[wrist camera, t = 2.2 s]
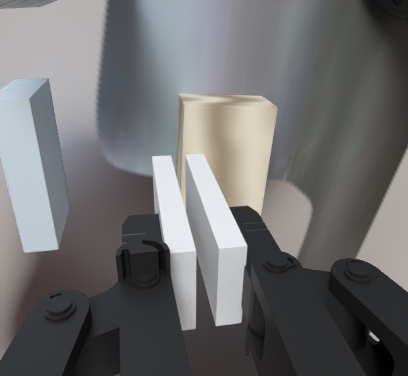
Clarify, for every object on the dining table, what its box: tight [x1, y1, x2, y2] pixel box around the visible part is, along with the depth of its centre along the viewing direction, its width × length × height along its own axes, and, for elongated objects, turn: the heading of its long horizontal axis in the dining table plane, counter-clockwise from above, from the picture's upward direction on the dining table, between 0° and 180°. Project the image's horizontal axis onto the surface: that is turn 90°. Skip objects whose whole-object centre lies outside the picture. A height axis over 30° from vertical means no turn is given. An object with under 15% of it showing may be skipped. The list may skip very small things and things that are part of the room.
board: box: [0, 79, 70, 252], centre depth 35 cm, size 3×14×8 cm, turn 179°
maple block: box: [176, 94, 278, 216], centre depth 40 cm, size 9×12×5 cm
